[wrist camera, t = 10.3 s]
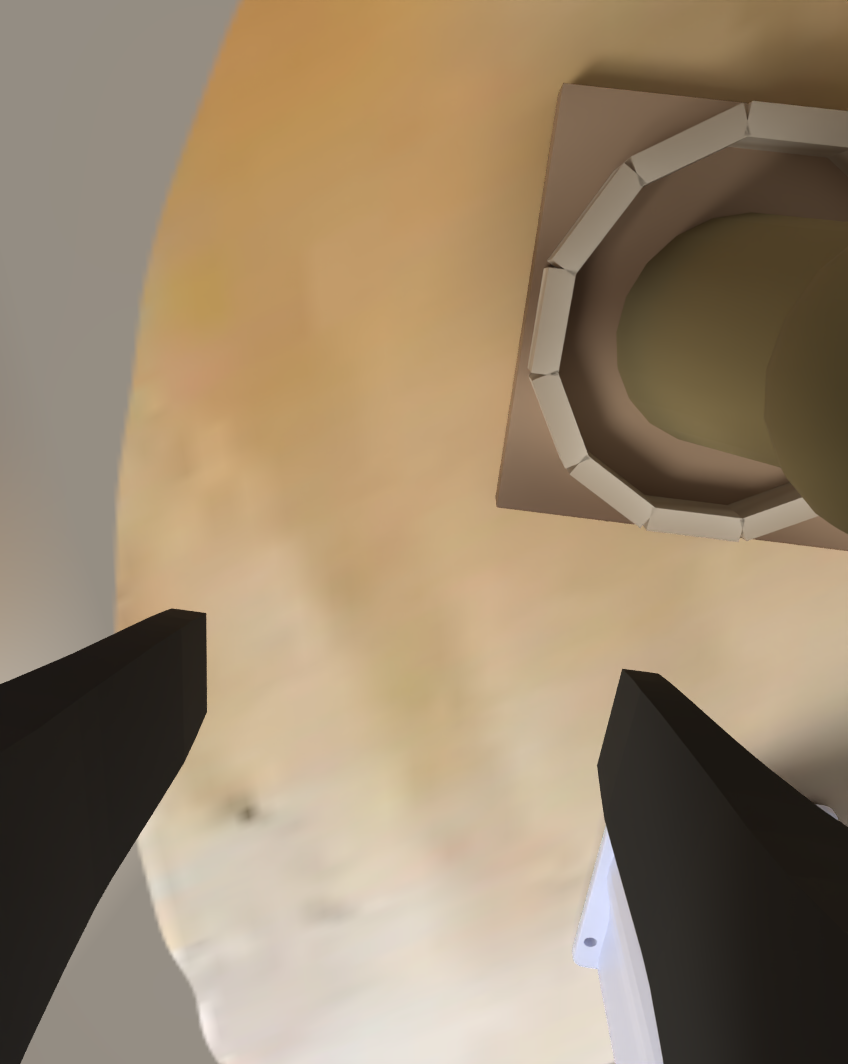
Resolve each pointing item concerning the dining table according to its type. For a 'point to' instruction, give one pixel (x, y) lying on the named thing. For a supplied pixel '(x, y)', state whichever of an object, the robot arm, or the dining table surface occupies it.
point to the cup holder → (604, 282)
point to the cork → (749, 347)
